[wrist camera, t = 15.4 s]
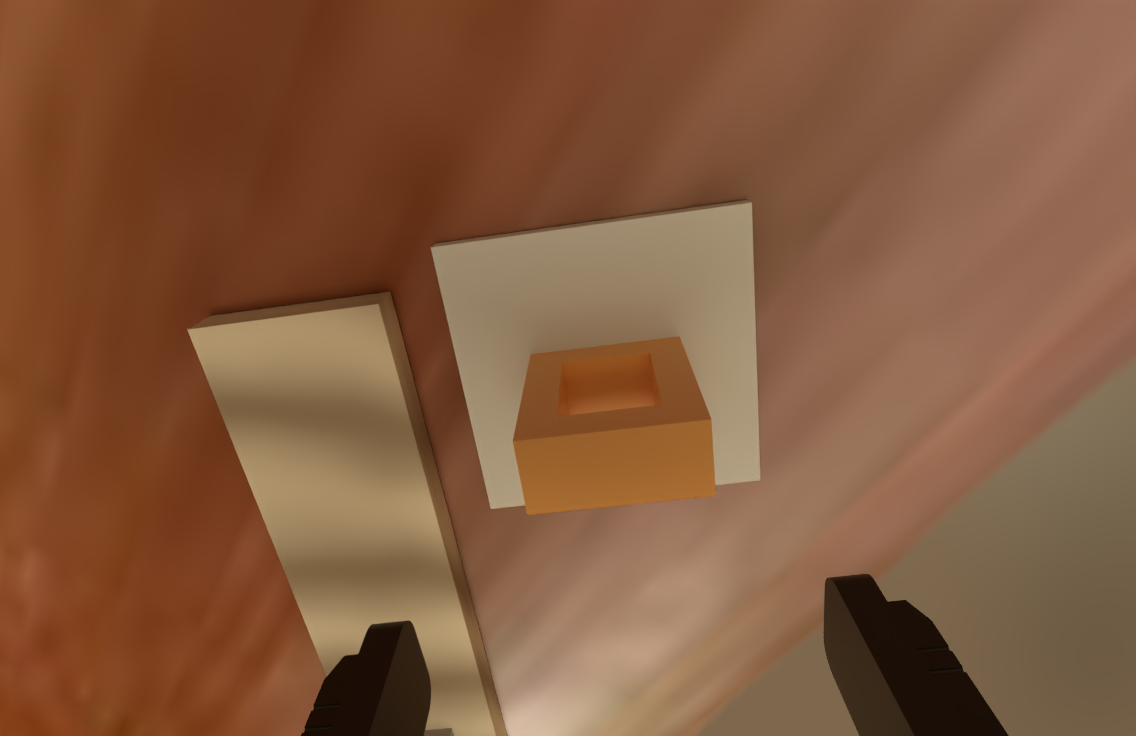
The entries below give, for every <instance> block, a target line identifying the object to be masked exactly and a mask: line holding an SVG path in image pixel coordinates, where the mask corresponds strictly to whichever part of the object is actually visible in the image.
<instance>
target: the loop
mask: <svg viewBox="0 0 1136 736" xmlns="http://www.w3.org/2000/svg"><path fill="white" fill-rule="evenodd" d="M513 446H514V451H515V456H516V461H517V466H518V471H519V476H520V481H521V486H522V491H523V496H524V501H525V506H526V511H527V515H532V514H542V513H552V512H562V511H571V510H581V509H591V508H601V507H611V506H620V505H630V504H640V503H650V502H660V501H670V500H679V499H689V498H699V497H709V496H716V487H715V470H714V454H713V437H712V420H711V417H710V414H709V412H708V409H707V406H706V404H705V401H704V398H703V396H702V393H701V391H700V388H699V385H698V383H697V380H696V378H695V375H694V372H693V370H692V367H691V365H690V362H689V359H688V357H687V354H686V352H685V349H684V346H683V344H682V341H681V339H680V336H678V337H670V338H662V339H653V340H645V341H637V342H629V343H620V344H612V345H604V346H596V347H588V348H579V349H571V350H563V351H555V352H546V353H538V354H530V359H529V364H528V369H527V374H526V379H525V384H524V388H523V393H522V398H521V403H520V408H519V413H518V418H517V422H516V427H515V432H514V437H513Z"/></svg>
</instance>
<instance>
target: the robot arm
mask: <svg viewBox="0 0 1136 736" xmlns="http://www.w3.org/2000/svg"><path fill="white" fill-rule="evenodd" d="M824 645H825V651H826V656H827V660H828V663H829V666H830V669H831V672H832V674H833V677H834V679H835V681H836V683H837V686H838V688H839V690H840V692H841V695H842V697H843V699H844V702H845V704H846V706H847V708H848V711H849V713H850V715H851V717H852V720H853V722H854V724H855V726H856V729H857V731H858V733H859V736H1008V734H1007V733H1006V731H1005V730H1004V728H1003V727H1002V725H1001V724H1000V722H999V721H998V719H997V718H996V716H995V715H994V713H993V712H992V710H991V709H990V707H989V706H988V704H987V703H986V701H985V700H984V698H983V697H982V695H981V694H980V692H979V691H978V689H977V688H976V686H975V685H974V683H973V682H972V680H971V679H970V677H969V676H968V674H967V673H966V672H963V668H962V665H961V664H960V663H959V661H958V660H957V658H956V656H955V655H954V653H953V652H952V651H950V650H949V647H948V644H947V643H946V642H945V640H944V639H943V637H942V636H941V634H940V633H939V631H938V629H937V628H936V627H935V625H934V624H933V622H932V621H931V620H930V619H929V618H928V617H926V616H925V615H924V614H923V613H921V612H920V611H919V610H917V609H916V608H915V607H913V606H912V605H911V604H910V603H908V602H907V601H906V600H900V601H891V602H887V600H886V599H885V597H884V595H883V594H882V592H881V591H880V589H879V587H878V586H877V584H876V582H875V581H874V579H873V578H872V577H871V576H870V575H869V574H860V575H850V576H841V577H831V578H827V579H826V581H825V600H824ZM430 704H431V682H430V676H429V672H428V669H427V666H426V663H425V659H424V656H423V653H422V650H421V647H420V644H419V641H418V638H417V634H416V631H415V628H414V626H413V624H412V622H411V621H409V620H407V621H398V622H388V623H379V624H372V625H371V626H370V627H369V628H368V630H367V632H366V635H365V637H364V640H363V643H362V645H361V648H360V651H359V653H358V654H355V655H345V656H344V657H343V658H342V659H341V660H340V661H339V663H338V664H337V665H336V666H335V667H334V669H333V670H332V671H331V672H330V673H329V675H328V676H327V677H326V678H325V679H324V682H323V684H322V687H321V689H320V691H319V694H318V696H317V699H316V701H315V703H314V710H313V711H311V713H310V715H309V718H308V720H307V723H306V725H305V732H304V733H302V735H301V736H424V732H425V728H426V723H427V719H428V715H429V710H430Z"/></svg>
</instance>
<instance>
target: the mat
mask: <svg viewBox="0 0 1136 736" xmlns="http://www.w3.org/2000/svg"><path fill="white" fill-rule="evenodd" d="M431 251H432V256H433V260H434V264H435V269H436V273H437V277H438V282H439V286H440V290H441V295H442V299H443V303H444V308H445V312H446V316H447V321H448V325H449V329H450V334H451V338H452V343H453V347H454V351H455V356H456V360H457V364H458V369H459V373H460V377H461V382H462V386H463V390H464V395H465V399H466V403H467V408H468V412H469V416H470V421H471V425H472V429H473V434H474V438H475V442H476V447H477V451H478V455H479V460H480V464H481V468H482V473H483V477H484V481H485V486H486V490H487V494H488V499H489V503H490V507H491V509H495V508H504V507H513V506H523V505H525V501H524V496H523V491H522V486H521V481H520V476H519V471H518V466H517V461H516V456H515V451H514V446H513V437H514V432H515V427H516V422H517V418H518V413H519V408H520V403H521V398H522V393H523V388H524V384H525V379H526V374H527V369H528V364H529V359H530V354H538V353H546V352H555V351H563V350H571V349H579V348H588V347H596V346H604V345H612V344H620V343H629V342H637V341H645V340H653V339H662V338H670V337H678V336H680V339H681V341H682V344H683V346H684V349H685V352H686V354H687V357H688V359H689V362H690V365H691V367H692V370H693V372H694V375H695V378H696V380H697V383H698V385H699V388H700V391H701V393H702V396H703V398H704V401H705V404H706V406H707V409H708V412H709V414H710V417H711V420H712V437H713V454H714V470H715V485H720V484H730V483H739V482H749V481H758V480H760V454H759V422H758V389H757V356H756V324H755V291H754V259H753V226H752V202H750V201H749V200H742V201H735V202H728V203H720V204H713V205H706V206H699V207H692V208H685V209H678V210H671V211H664V212H656V213H649V214H642V215H635V216H628V217H621V218H614V219H607V220H600V221H592V222H585V223H578V224H571V225H564V226H557V227H550V228H543V229H536V230H528V231H521V232H514V233H507V234H500V235H493V236H486V237H479V238H472V239H464V240H457V241H450V242H443V243H436V244H434V245H433V246H432V247H431Z"/></svg>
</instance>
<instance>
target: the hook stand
mask: <svg viewBox="0 0 1136 736" xmlns="http://www.w3.org/2000/svg"><path fill="white" fill-rule="evenodd" d="M188 332H189V335H190V337H191V340H192V342H193V345H194V347H195V350H196V352H197V355H198V357H199V360H200V362H201V365H202V367H203V370H204V372H205V375H206V377H207V380H208V382H209V385H210V387H211V390H212V392H213V395H214V397H215V400H216V402H217V405H218V407H219V410H220V412H221V415H222V417H223V420H224V422H225V425H226V427H227V430H228V432H229V435H230V437H231V440H232V442H233V444H234V447H235V449H236V452H237V454H238V457H239V459H240V462H241V464H242V467H243V469H244V472H245V474H246V477H247V479H248V482H249V484H250V487H251V489H252V492H253V494H254V497H255V499H256V502H257V504H258V507H259V509H260V512H261V514H262V517H263V519H264V522H265V524H266V527H267V529H268V532H269V534H270V537H271V539H272V542H273V544H274V547H275V549H276V552H277V554H278V556H279V559H280V561H281V564H282V566H283V569H284V571H285V574H286V576H287V579H288V581H289V584H290V586H291V589H292V591H293V594H294V596H295V599H296V601H297V604H298V606H299V609H300V611H301V614H302V616H303V619H304V621H305V624H306V626H307V629H308V631H309V634H310V636H311V639H312V641H313V644H314V646H315V649H316V651H317V654H318V656H319V659H320V661H321V664H322V666H323V669H324V671H325V673H326V676H328V675H329V673H330V672H331V671H332V670H333V669H334V667H335V666H336V665H337V664H338V663H339V661H340V660H341V659H342V658H343V657H344V656H345V655H355V654H358V653H359V651H360V648H361V645H362V643H363V640H364V637H365V635H366V632H367V630H368V628H369V627H370V626H371V625H372V624H379V623H388V622H398V621H407V620H409V621H411V622H412V624H413V626H414V628H415V631H416V634H417V638H418V641H419V644H420V647H421V650H422V653H423V656H424V659H425V663H426V666H427V669H428V672H429V676H430V682H431V704H430V710H429V715H428V719H427V723H426V728H425V732H424V736H507V733H506V730H505V726H504V722H503V718H502V714H501V711H500V707H499V703H498V699H497V695H496V691H495V688H494V684H493V680H492V676H491V672H490V669H489V665H488V661H487V657H486V653H485V650H484V646H483V642H482V638H481V634H480V631H479V627H478V623H477V619H476V615H475V612H474V608H473V604H472V600H471V596H470V592H469V589H468V585H467V581H466V577H465V573H464V570H463V566H462V562H461V558H460V554H459V551H458V547H457V543H456V539H455V535H454V532H453V528H452V524H451V520H450V516H449V512H448V509H447V505H446V501H445V497H444V493H443V490H442V486H441V482H440V478H439V474H438V471H437V467H436V463H435V459H434V455H433V452H432V448H431V444H430V440H429V436H428V433H427V429H426V425H425V421H424V417H423V413H422V410H421V406H420V402H419V398H418V394H417V391H416V387H415V383H414V379H413V375H412V372H411V368H410V364H409V360H408V356H407V353H406V349H405V345H404V341H403V337H402V334H401V330H400V326H399V322H398V318H397V314H396V311H395V307H394V303H393V299H392V295H391V292H383V293H376V294H368V295H361V296H353V297H346V298H339V299H331V300H324V301H316V302H309V303H302V304H294V305H287V306H280V307H272V308H265V309H257V310H250V311H243V312H235V313H228V314H220V315H213V316H209V317H207V318H206V319H204V320H202V321H201V322H199V323H197V324H196V325H194V326H192V327H191V328H189V329H188Z"/></svg>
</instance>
